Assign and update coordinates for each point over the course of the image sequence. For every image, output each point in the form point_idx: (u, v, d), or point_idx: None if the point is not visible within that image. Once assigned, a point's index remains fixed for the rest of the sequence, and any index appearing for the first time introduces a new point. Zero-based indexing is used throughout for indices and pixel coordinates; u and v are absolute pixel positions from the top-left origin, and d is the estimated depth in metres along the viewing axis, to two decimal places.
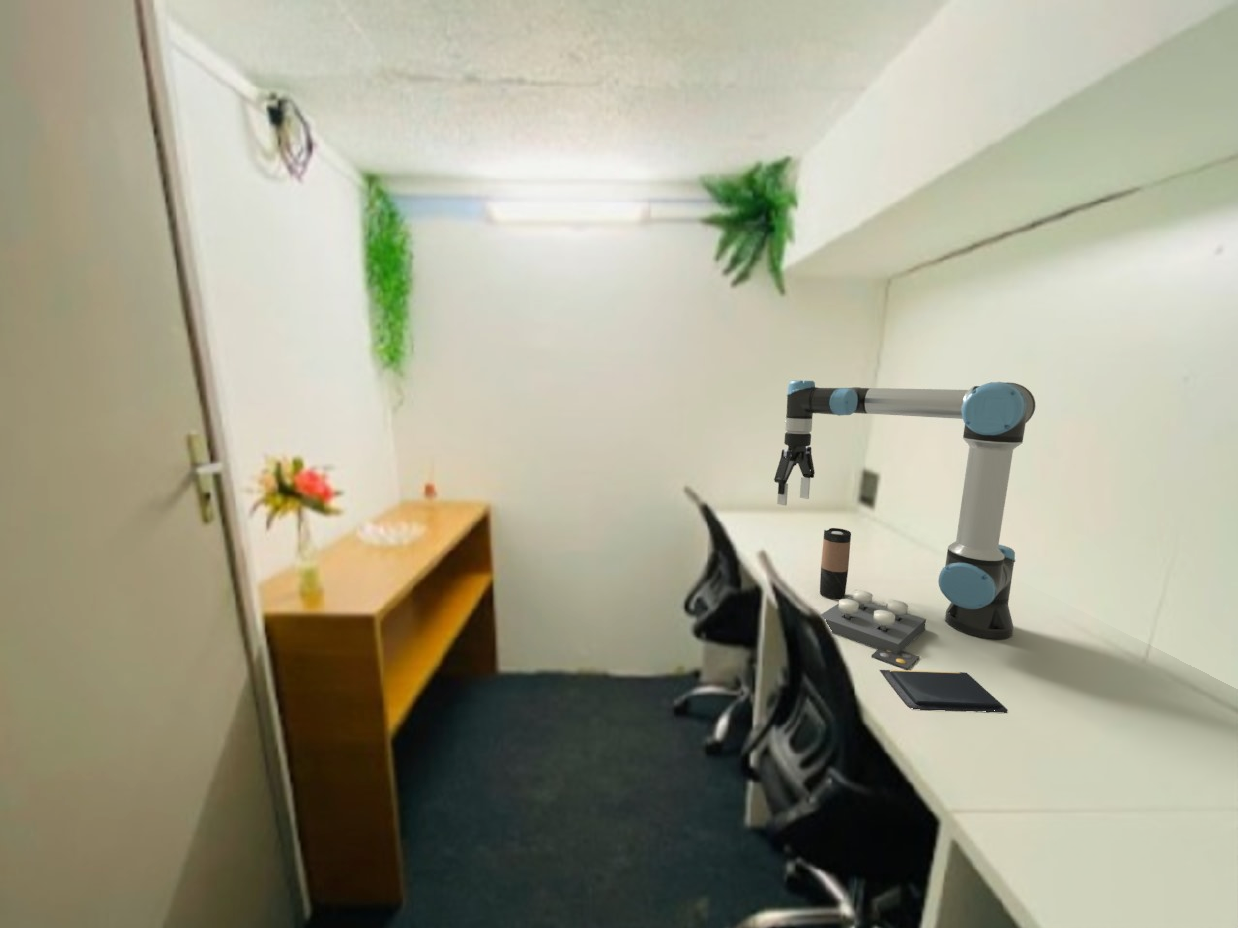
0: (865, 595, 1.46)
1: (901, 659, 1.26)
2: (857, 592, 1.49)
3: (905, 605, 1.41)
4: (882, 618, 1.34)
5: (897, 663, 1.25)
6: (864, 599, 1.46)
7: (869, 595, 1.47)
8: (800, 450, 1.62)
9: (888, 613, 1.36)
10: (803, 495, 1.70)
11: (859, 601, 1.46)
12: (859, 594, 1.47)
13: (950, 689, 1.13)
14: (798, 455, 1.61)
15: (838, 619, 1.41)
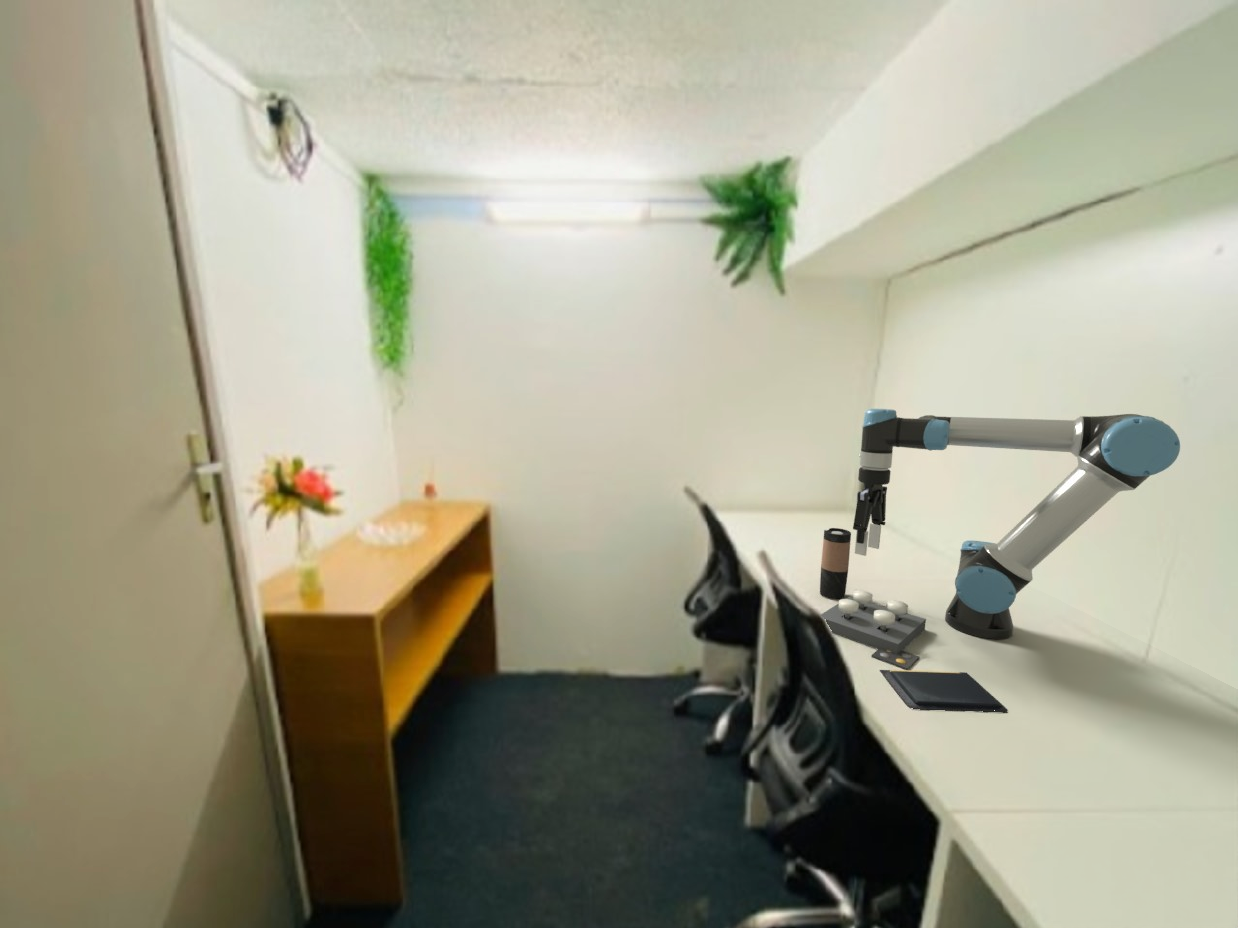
0: (865, 595, 1.46)
1: (901, 659, 1.26)
2: (857, 592, 1.49)
3: (905, 605, 1.41)
4: (882, 618, 1.34)
5: (897, 663, 1.25)
6: (864, 599, 1.46)
7: (869, 595, 1.47)
8: (877, 488, 1.42)
9: (888, 613, 1.36)
10: (872, 544, 1.49)
11: (859, 601, 1.46)
12: (859, 594, 1.47)
13: (950, 689, 1.13)
14: (876, 495, 1.41)
15: (838, 619, 1.41)
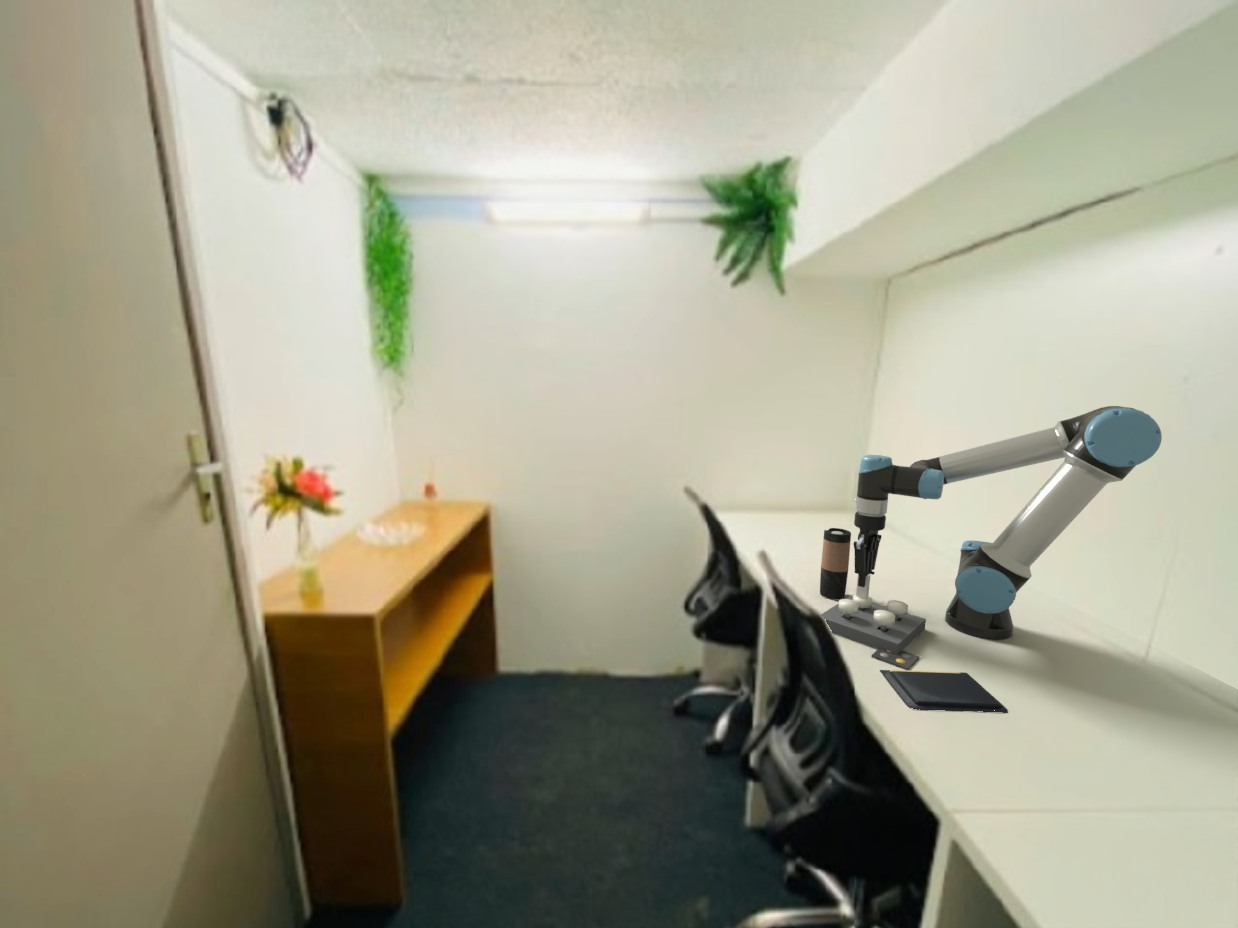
0: (864, 599, 1.47)
1: (901, 659, 1.26)
2: (857, 596, 1.49)
3: (905, 605, 1.41)
4: (882, 618, 1.34)
5: (897, 663, 1.25)
6: (864, 603, 1.46)
7: (869, 599, 1.47)
8: (873, 533, 1.44)
9: (888, 613, 1.36)
10: None
11: (859, 605, 1.47)
12: (859, 598, 1.48)
13: (950, 689, 1.13)
14: (872, 541, 1.43)
15: (838, 619, 1.41)
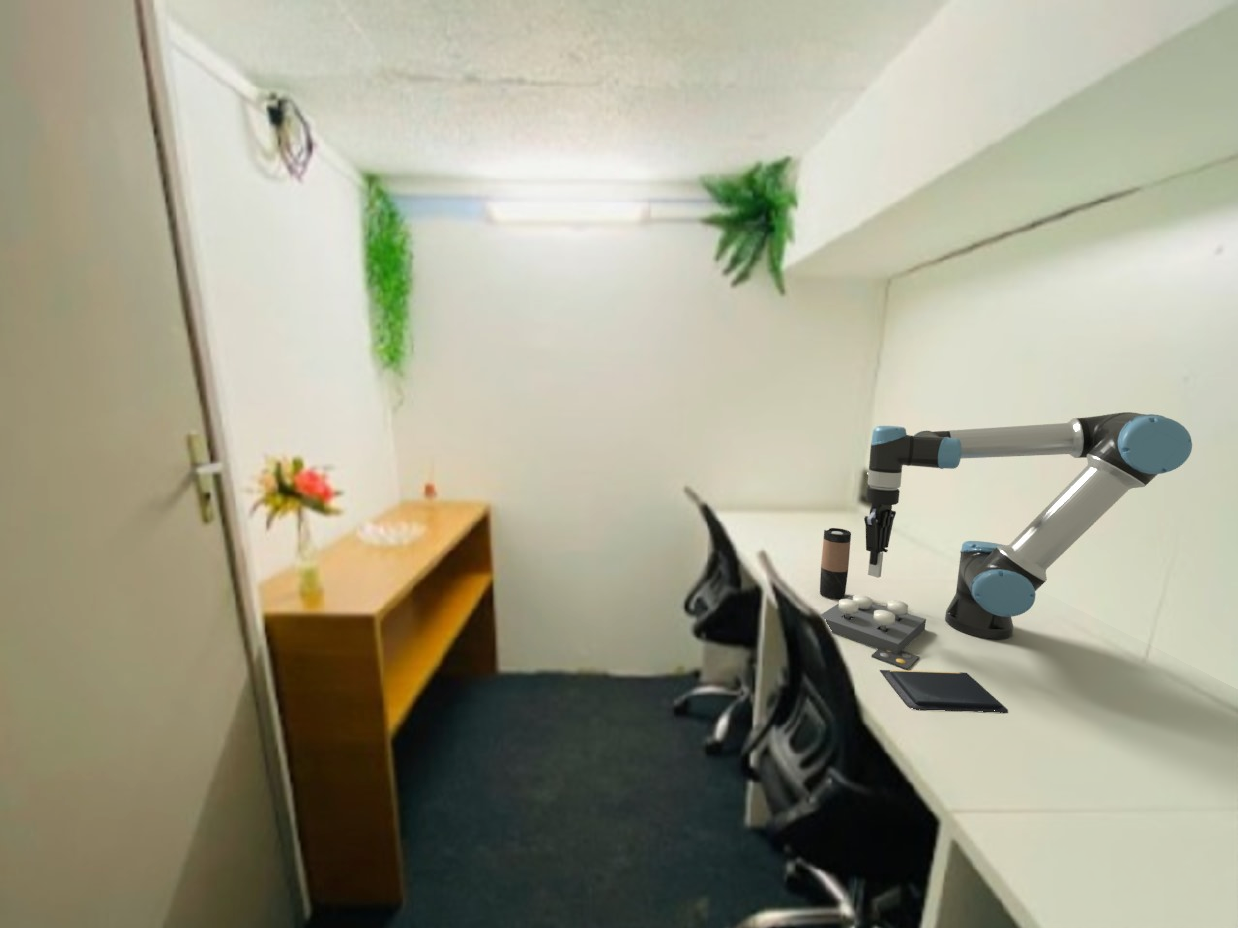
0: (864, 600, 1.47)
1: (901, 659, 1.26)
2: (857, 597, 1.49)
3: (905, 605, 1.41)
4: (882, 618, 1.34)
5: (897, 663, 1.25)
6: (864, 604, 1.46)
7: (869, 600, 1.47)
8: (885, 508, 1.37)
9: (888, 613, 1.36)
10: None
11: (859, 606, 1.47)
12: (858, 599, 1.48)
13: (950, 689, 1.13)
14: (884, 517, 1.36)
15: (838, 619, 1.41)
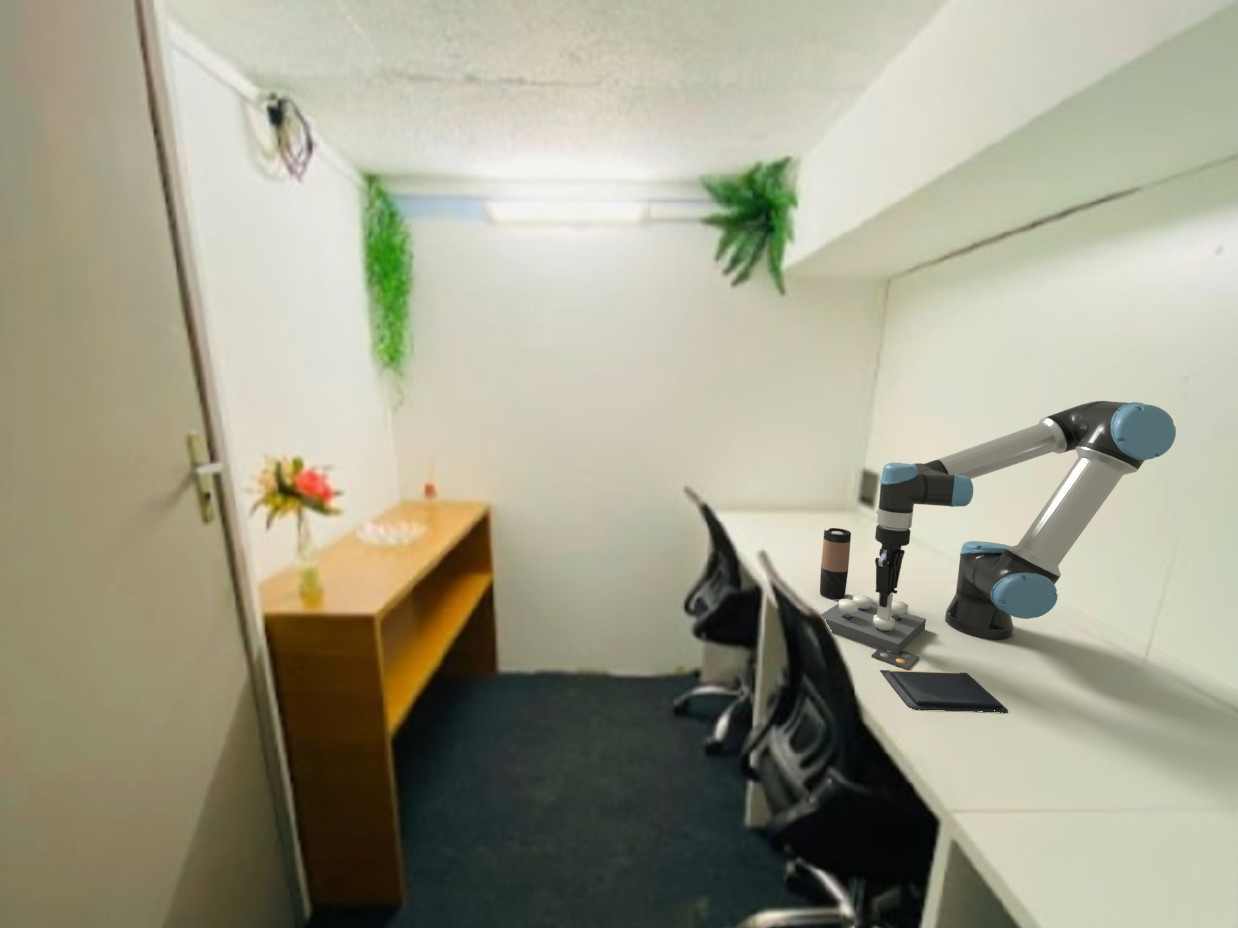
0: (864, 600, 1.47)
1: (901, 659, 1.26)
2: (857, 597, 1.49)
3: (905, 605, 1.41)
4: (882, 623, 1.34)
5: (897, 663, 1.25)
6: (864, 604, 1.46)
7: (869, 600, 1.47)
8: (896, 548, 1.32)
9: None
10: None
11: (859, 606, 1.47)
12: (858, 599, 1.48)
13: (950, 689, 1.13)
14: (895, 558, 1.30)
15: (838, 619, 1.41)
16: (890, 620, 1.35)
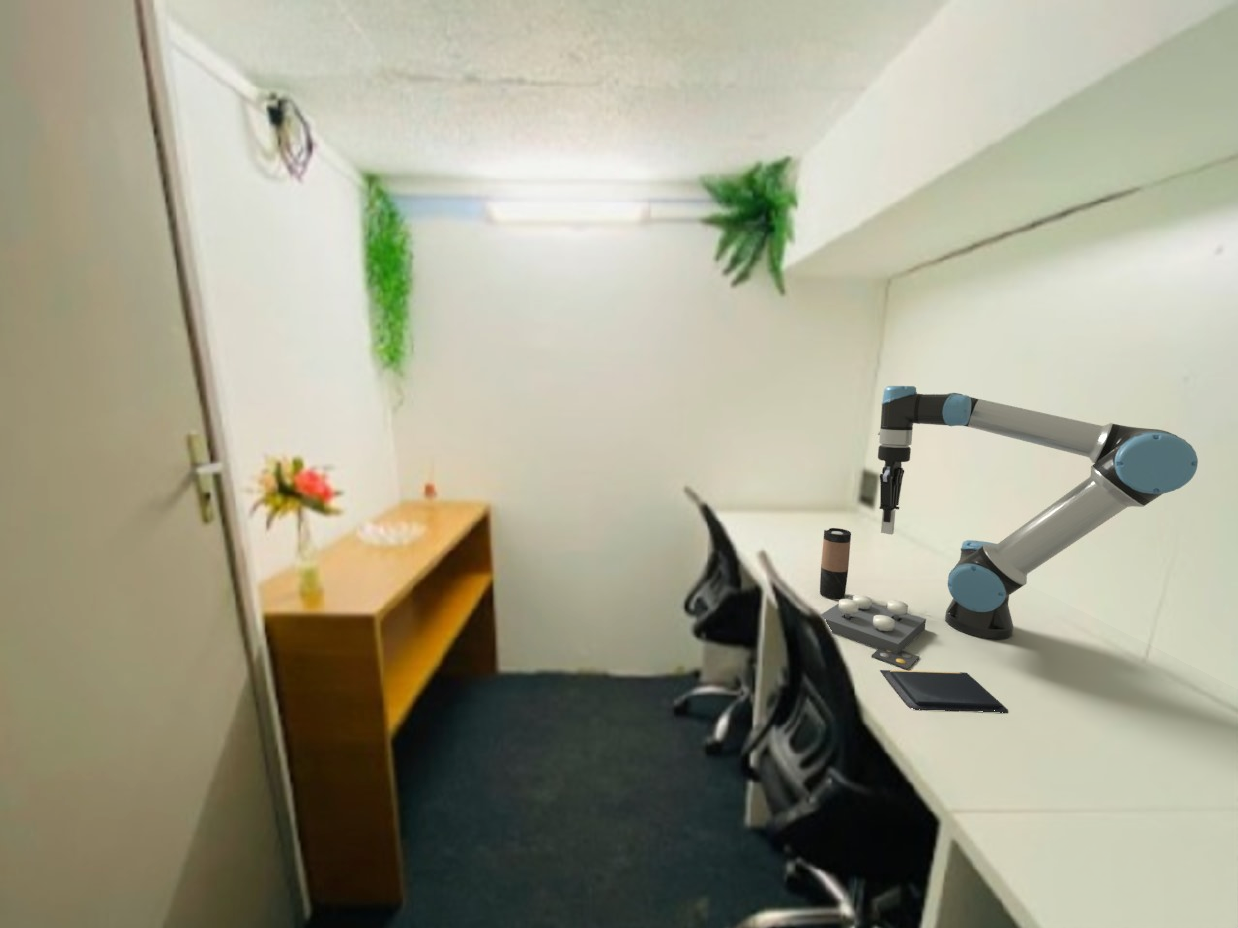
0: (864, 600, 1.47)
1: (901, 659, 1.26)
2: (857, 597, 1.49)
3: (905, 605, 1.41)
4: (881, 623, 1.34)
5: (897, 663, 1.25)
6: (864, 604, 1.46)
7: (869, 600, 1.47)
8: (897, 466, 1.41)
9: (888, 618, 1.36)
10: None
11: (859, 606, 1.47)
12: (858, 599, 1.48)
13: (950, 689, 1.13)
14: (897, 474, 1.39)
15: (838, 619, 1.41)
16: (890, 621, 1.35)
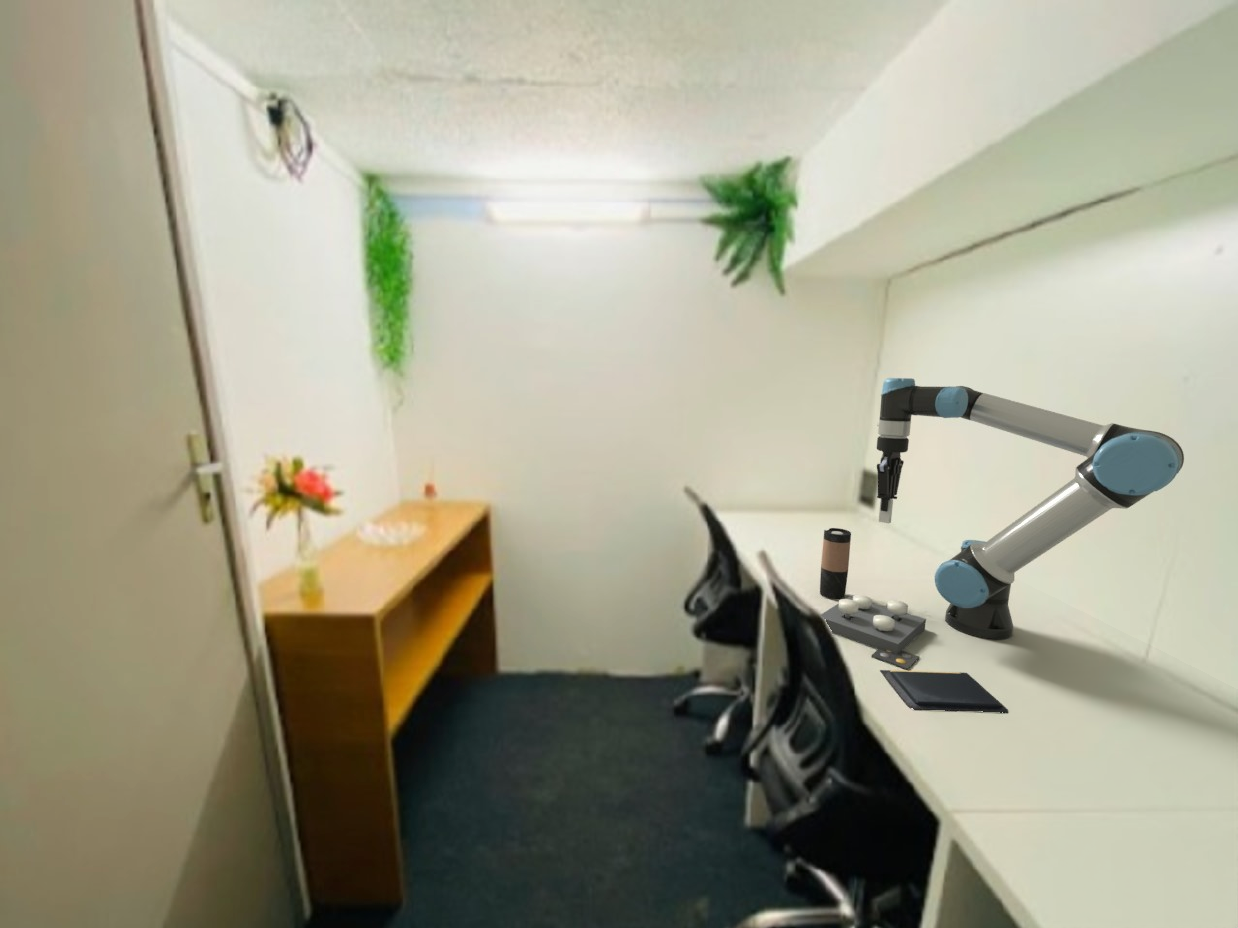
0: (864, 600, 1.47)
1: (901, 659, 1.26)
2: (857, 597, 1.49)
3: (905, 605, 1.41)
4: (881, 623, 1.34)
5: (897, 663, 1.25)
6: (864, 604, 1.46)
7: (869, 600, 1.47)
8: (895, 456, 1.44)
9: (888, 618, 1.36)
10: None
11: (859, 606, 1.47)
12: (858, 599, 1.48)
13: (950, 689, 1.13)
14: (895, 464, 1.43)
15: (838, 619, 1.41)
16: (890, 621, 1.35)
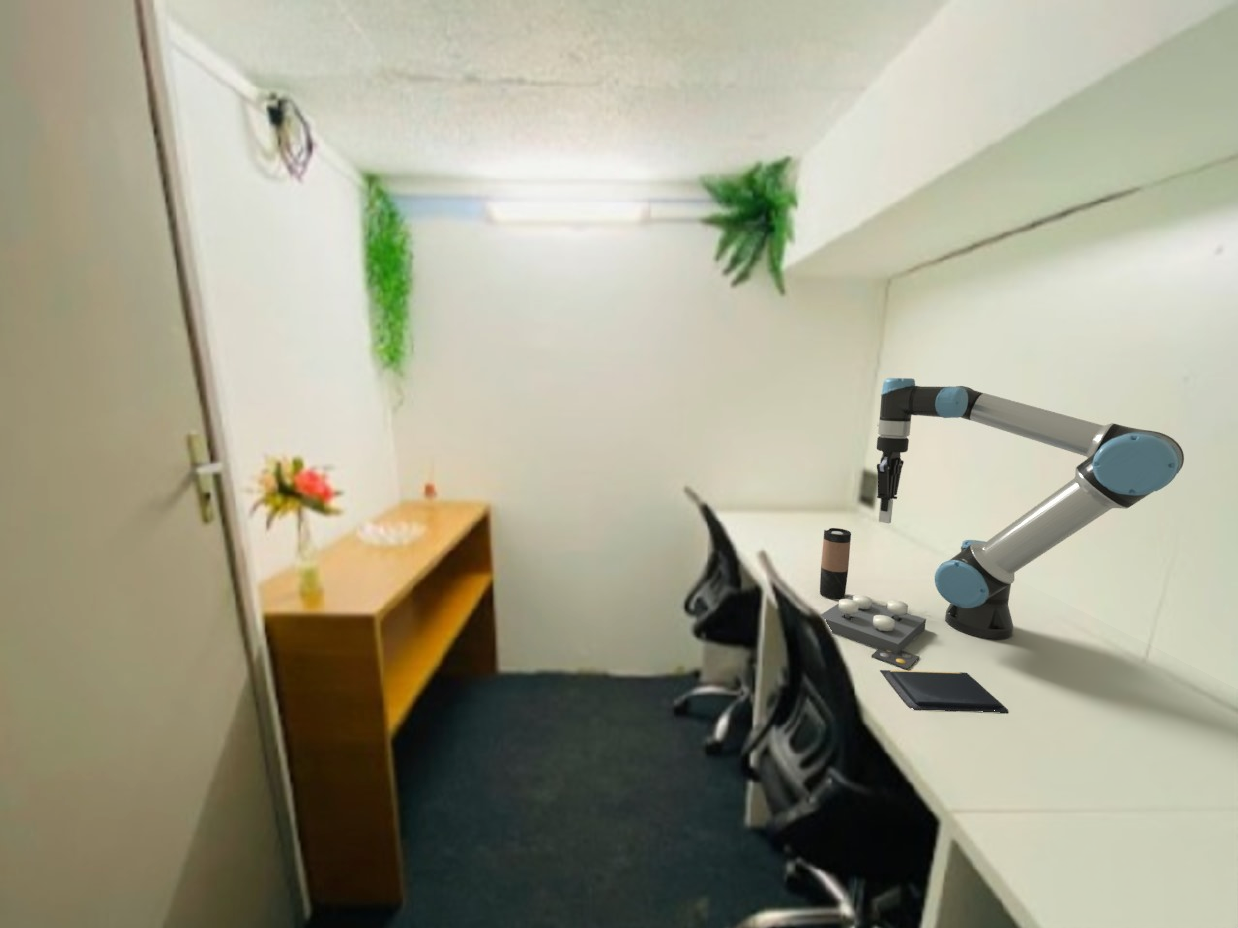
0: (864, 600, 1.47)
1: (901, 659, 1.26)
2: (857, 597, 1.49)
3: (905, 605, 1.41)
4: (881, 623, 1.34)
5: (897, 663, 1.25)
6: (864, 604, 1.46)
7: (869, 600, 1.47)
8: (895, 456, 1.44)
9: (888, 618, 1.36)
10: None
11: (859, 606, 1.47)
12: (858, 599, 1.48)
13: (950, 689, 1.13)
14: (895, 464, 1.43)
15: (838, 619, 1.41)
16: (890, 621, 1.35)
